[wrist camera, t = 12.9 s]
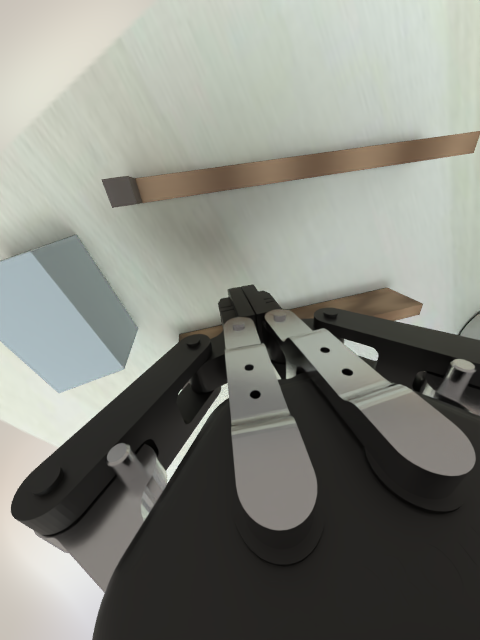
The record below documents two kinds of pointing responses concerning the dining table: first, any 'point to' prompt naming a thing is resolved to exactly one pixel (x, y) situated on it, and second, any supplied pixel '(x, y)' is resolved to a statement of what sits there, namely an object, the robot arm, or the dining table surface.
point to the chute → (294, 168)
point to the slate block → (63, 315)
